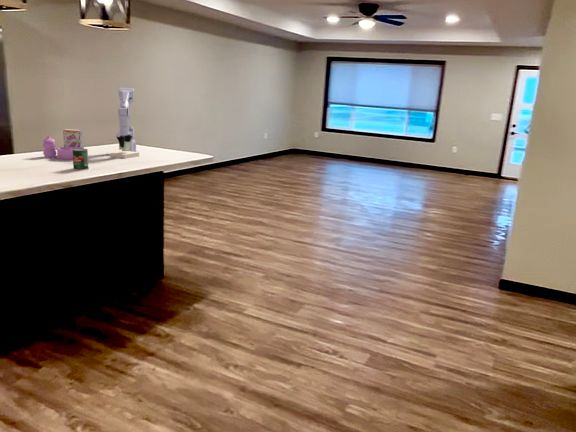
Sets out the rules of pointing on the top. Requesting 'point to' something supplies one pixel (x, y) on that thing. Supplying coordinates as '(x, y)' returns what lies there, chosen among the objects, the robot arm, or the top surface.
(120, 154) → the cream block
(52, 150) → the container set
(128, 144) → the sage cube
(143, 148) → the top surface
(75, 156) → the canned tomato
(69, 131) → the candy bar box
